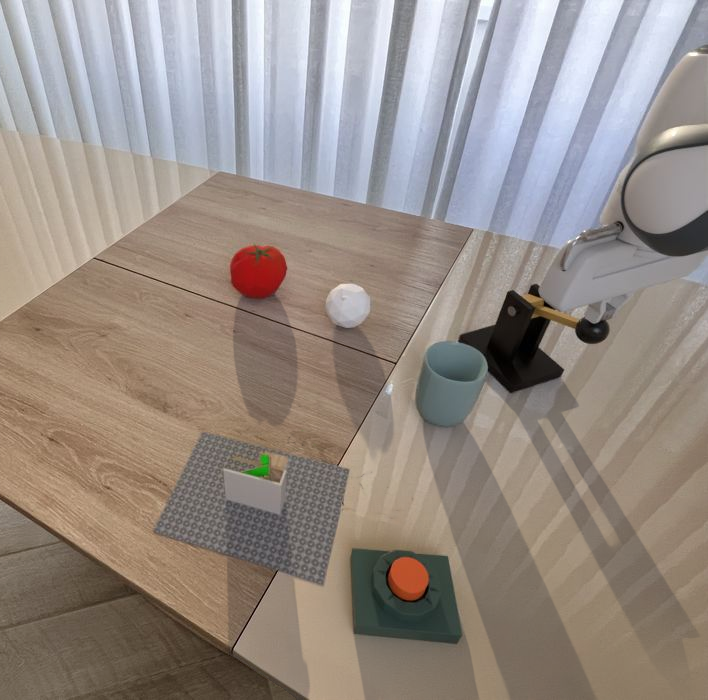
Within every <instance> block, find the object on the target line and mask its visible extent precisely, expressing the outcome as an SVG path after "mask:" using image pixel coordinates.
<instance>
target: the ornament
mask: <svg viewBox="0 0 708 700" xmlns="http://www.w3.org/2000/svg"><path fill="white" fill-rule="evenodd" d="M325 314H326V315H327V317H328V318H329V320H330V321H331V323H332V324H334V325H336V326H339V327H342V328H346V329H349V328H350V329H351V328H357V326H359V325H361V324H362V323H363V322H364V321H365V320H366V319H367V317H368V316H369V315H370V314H371V297H370V295H369V294H368V293H367V292H366V290H365V289H364V288H363V287H362V286H359V285H357V284H355V283H340V284H339V285H337V286H336V287H334V288H333V289H331V290H330V291H329V293H328V295H327V297H326V300H325Z"/></svg>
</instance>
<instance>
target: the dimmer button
mask: <svg viewBox="0 0 708 700" xmlns="http://www.w3.org/2000/svg"><path fill="white" fill-rule="evenodd" d="M428 581H429V577H428V573H427V570H426V569H425V567H424V566H423V565H422V564H421V563H420V562H419V561H417V560H415V559H413V558H409V557H403V558H399V559H397V560H396V561H395V562H394V563H393V564H392V566H391V569H390V572H389V576H388V583H389V586H390V588H391V590H392V591H393V593H394V594H395V595H396V596H398V597H399V598H401V599H404V600H408V601H413V600H417V599H419V598H420V597H421V596H422V595H423V594H424V592H425V589H426V587H427V585H428Z"/></svg>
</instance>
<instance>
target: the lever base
mask: <svg viewBox="0 0 708 700" xmlns="http://www.w3.org/2000/svg"><path fill="white" fill-rule="evenodd" d="M539 287H540V284H538V283H533V284H530V286H529V289H528V292H527V294H530V295H533V296H536V297H539V298H541V297H540V295H539ZM522 296H523V295H521V294H520V293H518V292H517V291H516V290H514V289H511V290H508V291H507V292H506V295H505V297H504V300H503V303H502V305H501V308H500V310H499V313H498V316H497V319H496V321H495V323H494V324H491V325H488V326H485V327H481V328H478V329H475V330H471V331H467V332H464V333H461V334H459V338H458V340H457V342H459V343H463V344H466V345H469V346H471V347H473V348H475V349H477V350H478V351H479V352H481V353H482V354H483V356H484V357H485V359H486V361H487V364H488V372H487V373H489V374H490V375H491V376H492V377H494V379H495V380H496V381H497V382H498V383H499V384H500V386H502V387H503V388H504V389H505V390H506V391H507V392H508V393H509V394H513V393H515V392H519V391H522V390H525V389H529V388H532V387H534V386H537V385H540V384H544V383H546V382H549V381H552V380H553V381H554V380H556V379H559V378H561V377H562V376H563V374H564V372H565V369H564V368H563V367H562V365H560V364H559V363H558V362H556V361H555V360H554V359H553V358H552V357H550V356H549V355H548V354H547V353H546V352H545V351H544V350H542V349H541V347H540V346H541V343H542V340H543V338H544V336H545V334H546V332H547V329H548V327H549V325H550V323H551V321H552V320H550V319H547V318H544V317H542V316H538V317H535V318H532V315H533V313H534V311H535V307H534V306H533V305H532V304H530V303H529V302H528V301H527V300H525V299H524V298H523V297H522ZM543 306H544V307H547V308H550V309H553V310H556V309H554V308H553V307H552V306H550V305H549V304H548V303H546V302H545V301H544V305H543ZM556 311H557V310H556ZM531 318H532V319H531Z"/></svg>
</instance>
